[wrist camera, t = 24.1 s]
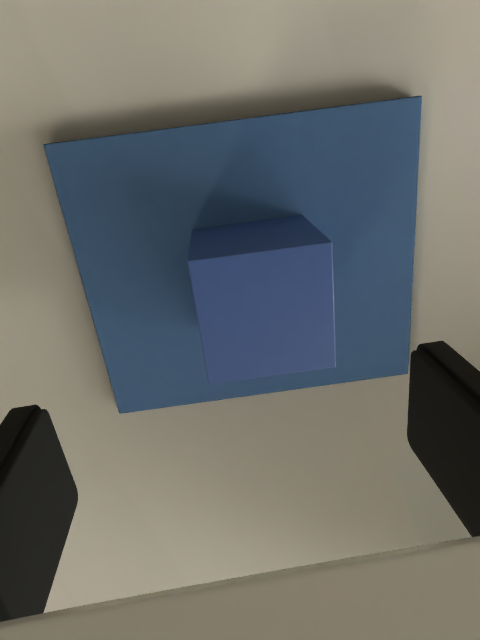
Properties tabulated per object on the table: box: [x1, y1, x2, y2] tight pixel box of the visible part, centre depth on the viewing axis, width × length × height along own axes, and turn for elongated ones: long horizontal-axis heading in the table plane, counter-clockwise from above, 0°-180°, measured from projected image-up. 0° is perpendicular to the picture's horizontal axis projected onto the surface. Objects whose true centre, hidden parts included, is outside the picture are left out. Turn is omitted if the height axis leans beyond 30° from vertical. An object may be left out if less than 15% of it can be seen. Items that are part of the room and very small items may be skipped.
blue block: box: [187, 215, 336, 384], centre depth 16 cm, size 4×4×4 cm
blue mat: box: [44, 96, 422, 414], centre depth 19 cm, size 14×12×1 cm
